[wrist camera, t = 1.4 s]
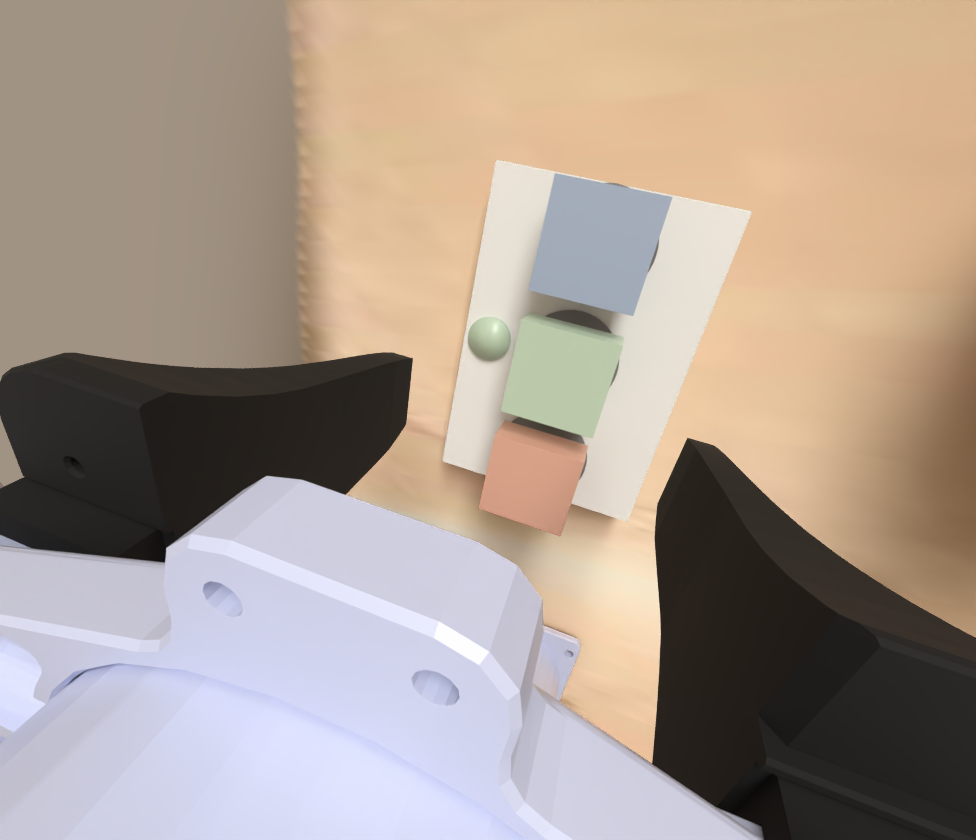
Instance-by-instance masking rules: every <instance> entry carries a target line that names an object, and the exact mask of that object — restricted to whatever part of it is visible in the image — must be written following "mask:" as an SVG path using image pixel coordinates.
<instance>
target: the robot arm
mask: <svg viewBox="0 0 976 840" xmlns="http://www.w3.org/2000/svg"><path fill="white" fill-rule="evenodd" d="M412 361H413V358H409V357H406V356H402V355H399V354H395V353H374V354H367V355H361V356H354V357H348V358H342V359H336V360H330V361H323V362H316V363H308V364H301V365H293V366H283V367H270V368H249V369H248V368H247V369H246V368H245V369H235V368H194V367H180V366H167V365H157V364H147V363H139V362H131V361H124V360H118V359H111V358H105V357H97V356H91V355H85V354H79V353H63V354H59V355H55V356H52V357H48V358H45V359H42V360H38V361H35V362H31V363H27V364H24V365H20V366H17V367H14V368H11V369H10V370H9V371H7V372H6V373H5V374H4V375H3V376H2V379H1V381H0V416H1V420H2V423H3V425H4V428H5V430H6V433H7V436H8V438H9V441H10V443H11V446H12V448H13V451H14V454H15V456H16V458H17V461H18V464H19V466H20V469H21V472H22V474H23V476H25V477H24V478H22V479H19V480H17V481H15V482H13V483H11V484H9V485H7V486H4V487H3V485H2V484H1V483H0V840H976V638H975V637H973V636H971V635H969V634H967V633H965V632H963V631H961V630H960V629H958V628H956V627H954V626H952V625H950V624H949V623H947V622H945V621H943V620H942V619H940V618H938V617H936V616H934V615H933V614H931V613H929V612H927V611H925V610H924V609H922V608H920V607H918V606H916V605H915V604H913V603H911V602H910V601H908V600H906V599H905V598H903V597H901V596H900V595H898V594H896V593H895V592H893V591H891V590H890V589H888V588H887V587H885V586H883V585H882V584H880V583H879V582H877V581H876V580H874V579H873V578H871V577H870V576H868V575H867V574H865V573H863V572H862V571H860V570H859V569H857V568H856V567H854V566H853V565H851V564H850V563H848V562H847V561H846V560H844V559H843V558H841V557H840V556H838V555H837V554H836V553H834V552H833V551H832V550H830V549H829V548H828V547H826V546H825V545H824V544H822V543H821V542H820V541H819V540H817V539H816V538H815V537H813V536H812V535H811V534H809V533H808V532H807V531H806V530H804V529H803V528H802V527H801V526H800V525H798V524H797V523H796V522H795V521H794V520H793V519H791V518H790V517H789V516H788V515H787V514H786V513H785V512H784V511H782V510H781V509H780V508H779V507H778V506H777V505H776V504H775V503H774V502H772V501H771V500H770V499H769V498H768V497H767V496H766V495H765V494H764V493H763V492H762V491H761V490H760V489H759V488H758V487H757V486H756V485H755V484H754V483H753V482H752V481H751V480H750V479H749V478H748V477H747V476H746V475H745V474H744V473H743V472H742V471H741V470H740V469H739V468H738V467H737V466H736V465H735V464H734V463H733V462H732V461H731V460H730V459H729V458H728V457H727V456H726V455H725V454H724V453H723V452H721V451H720V450H719V449H718V448H717V447H715V446H714V445H710V444H707V443H703V442H700V441H696V440H693V439H690V438H687V440H686V442H685V445H684V447H683V449H682V451H681V453H680V456H679V458H678V460H677V462H676V464H675V467H674V469H673V471H672V473H671V476H670V478H669V480H668V482H667V484H666V487H665V489H664V491H663V493H662V495H661V498H660V500H659V502H658V505H657V515H656V526H655V550H656V565H657V577H658V590H659V603H660V617H661V645H660V668H659V685H658V700H657V715H656V727H655V739H654V750H653V761H652V764H651V763H650V762H648V761H647V760H645V759H644V758H643V757H641V756H640V755H638V754H637V753H635V752H634V751H632V750H631V749H629V748H628V747H626V746H625V745H623V744H622V743H620V742H619V741H617V740H616V739H615V738H613V737H612V736H610V735H609V734H607V733H606V732H604V731H603V730H601V729H600V728H598V727H597V726H595V725H594V724H592V723H591V722H589V721H588V720H587V719H585V718H584V717H582V716H581V715H579V714H578V713H576V712H575V711H573V710H572V709H570V708H569V707H567V706H566V705H564V704H563V703H561V702H560V698H561V696H562V693H563V691H564V689H565V686H566V684H567V681H568V679H569V676H570V674H571V671H572V669H573V666H574V664H575V662H576V659H577V657H578V654H579V652H580V646H581V643H580V641H579V640H578V639H577V638H575V637H573V636H570V635H567V634H565V633H562V632H559V631H557V630H554V629H551V628H549V627H546V626H544V625H543V603H542V599H541V597H540V596H539V594H538V593H537V592H536V590H535V589H534V587H533V586H532V585H531V583H530V582H529V581H528V579H527V578H526V576H525V575H524V574H523V572H522V571H521V569H520V568H519V567H518V565H516V564H514V563H513V562H511V561H509V560H508V559H506V558H504V557H502V556H501V555H499V554H497V553H496V552H494V551H492V550H491V549H489V548H487V547H485V546H484V545H482V544H480V543H479V542H477V541H474V540H471V539H468V538H466V537H463V536H460V535H457V534H454V533H451V532H449V531H446V530H443V529H440V528H437V527H434V526H432V525H429V524H426V523H423V522H420V521H417V520H415V519H412V518H409V517H406V516H403V515H400V514H398V513H395V512H392V511H389V510H386V509H383V508H381V507H378V506H375V505H372V504H369V503H366V502H364V501H361V500H358V499H355V498H352V497H349V496H347V495H346V494H347V493H348V492H349V491H350V489H351V488H352V487H353V486H354V485H355V484H356V483H357V482H358V481H359V480H360V479H361V478H362V477H363V476H364V475H365V474H366V473H367V472H368V471H369V470H370V469H371V468H372V467H373V466H374V465H375V464H376V463H377V462H378V461H379V459H380V458H381V457H382V456H383V455H384V454H385V453H386V452H387V451H388V450H389V448H390V447H391V446H392V444H393V443H394V442H395V440H396V439H397V437H398V436H399V434H400V433H401V431H402V430H403V428H404V427H405V425H406V420H407V410H408V400H409V390H410V381H411V371H412ZM567 650H569V651H571V652H568V651H567Z"/></svg>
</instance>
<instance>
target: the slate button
mask: <svg viewBox="0 0 976 840" xmlns="http://www.w3.org/2000/svg"><path fill="white" fill-rule="evenodd" d="M671 200H672V197H670V196H665V195H660V194H655V193H651V192H646V191H641V190H636V189H631V188H626V187H621V186H616V185H611V184H606V183H601V182H596V181H591V180H586V179H581V178H576V177H572V176H567V175H562V174H557V173H555V175H554V179H553V184H552V188H551V193H550V197H549V201H548V206H547V210H546V214H545V219H544V223H543V228H542V232H541V236H540V241H539V245H538V249H537V254H536V258H535V263H534V267H533V271H532V276H531V280H530V284H529V289H528V290H530V291H534V292H538V293H542V294H546V295H550V296H554V297H558V298H562V299H566V300H570V301H574V302H578V303H582V304H586V305H590V306H594V307H598V308H602V309H606V310H610V311H614V312H618V313H622V314H626V315H630V316H633V315H634V312H635V309H636V306H637V303H638V300H639V297H640V294H641V291H642V288H643V285H644V282H645V279H646V276H647V273H648V270H649V267H650V264H651V261H652V258H653V255H654V252H655V249H656V246H657V243H658V240H659V237H660V234H661V231H662V228H663V225H664V222H665V219H666V216H667V213H668V210H669V207H670V203H671Z"/></svg>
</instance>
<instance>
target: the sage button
mask: <svg viewBox="0 0 976 840" xmlns="http://www.w3.org/2000/svg"><path fill="white" fill-rule="evenodd" d="M623 343H624V337H623V336H619V335H615V334H611V333H608V332H604V331H600V330H596V329H592V328H588V327H584V326H580V325H577V324H573V323H569V322H565V321H561V320H557V319H553V318H550V317H546V316H542V315H538V314H534V313H529V314H528V315H526V316H525V317H524V318H523V319H521V324H520V328H519V333H518V337H517V341H516V346H515V350H514V354H513V359H512V363H511V368H510V372H509V376H508V381H507V385H506V389H505V394H504V398H503V403H502V407H501V411H502V412H505V413H508V414H512V415H515V416H518V417H522V418H525V419H528V420H532V421H535V422H538V423H542V424H545V425H548V426H552V427H555V428H558V429H562V430H565V431H568V432H572V433H575V434H578V435H582V436H585V437H588V438H592V439H593V436H594V433H595V430H596V427H597V424H598V421H599V418H600V415H601V412H602V409H603V406H604V403H605V400H606V397H607V394H608V391H609V388H610V385H611V382H612V379H613V376H614V373H615V370H616V367H617V364H618V361H619V358H620V355H621V352H622V348H623Z"/></svg>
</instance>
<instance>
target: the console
mask: <svg viewBox="0 0 976 840" xmlns="http://www.w3.org/2000/svg"><path fill="white" fill-rule="evenodd" d="M555 173H557V174H562V175H567V176H572V177H576V178H581V179H586V180H591V181H596V182H601V183H606V184H611V185H616V186H621V187H626V188H631V189H636V190H641V191H646V192H651V193H655V194H660V195H665V196H670V197H672V200H671V203H670V207H669V210H668V213H667V216H666V219H665V222H664V225H663V228H662V231H661V234H660V237H659V240H658V243H657V246H656V249H655V252H654V255H653V258H652V261H651V264H650V267H649V270H648V273H647V276H646V279H645V282H644V285H643V288H642V291H641V294H640V297H639V300H638V303H637V306H636V309H635V312H634V315H633V316H630V315H626V314H622V313H618V312H614V311H610V310H606V309H602V308H598V307H594V306H590V305H586V304H582V303H578V302H574V301H570V300H566V299H562V298H558V297H554V296H550V295H546V294H542V293H538V292H534V291H530V290H528V289H529V284H530V280H531V276H532V271H533V267H534V263H535V258H536V254H537V249H538V245H539V241H540V236H541V232H542V228H543V223H544V219H545V214H546V210H547V206H548V201H549V197H550V193H551V188H552V184H553V179H554V175H555ZM751 213H752V211H748V210H743V209H738V208H733V207H728V206H723V205H718V204H713V203H708V202H703V201H698V200H694V199H689V198H684V197H679V196H674V195H669V194H664V193H659V192H654V191H649V190H644V189H639V188H634V187H629V186H624V185H620V184H616V183H609V182H604V181H599V180H594V179H590V178H585V177H580V176H575V175H570V174H565V173H560V172H555V171H550V170H545V169H540V168H535V167H530V166H525V165H520V164H515V163H510V162H505V161H500V160H496V163H495V169H494V174H493V180H492V185H491V191H490V197H489V202H488V208H487V213H486V219H485V225H484V230H483V236H482V241H481V247H480V253H479V258H478V264H477V269H476V275H475V281H474V286H473V292H472V297H471V303H470V309H469V314H468V320H467V325H466V331H465V337H464V342H463V348H462V353H461V359H460V365H459V370H458V376H457V381H456V387H455V393H454V398H453V404H452V409H451V415H450V421H449V426H448V432H447V437H446V443H445V449H444V454H443V460H442V461H443V462H446V463H449V464H452V465H455V466H458V467H461V468H464V469H467V470H471V471H474V472H477V473H480V474H483V475H486V473H487V468H488V464H489V460H490V455H491V451H492V446H493V442H494V438H495V434H496V433H497V431H498V430H499V428H500V427H501V425H502V424H503V422H504V421H505V420H506V421H509V422H512V423H516V424H519V425H522V426H525V427H529V428H532V429H535V430H539V431H542V432H545V433H549V434H552V435H555V436H558V437H562V438H565V439H568V440H572V441H575V442H578V443H581V444H585V445H588V449H587V454H586V459H585V463H584V466H583V469H582V472H581V475H580V478H579V481H578V484H577V487H576V490H575V494H574V497H573V500H572V503H571V504H574V505H577V506H580V507H583V508H586V509H589V510H592V511H596V512H599V513H602V514H605V515H608V516H611V517H614V518H617V519H620V520H623V521H626V522H627V521H628V519H629V516H630V514H631V511H632V509H633V506H634V504H635V501H636V499H637V496H638V494H639V491H640V489H641V486H642V484H643V481H644V479H645V477H646V474H647V472H648V469H649V467H650V464H651V462H652V459H653V457H654V454H655V452H656V449H657V447H658V444H659V442H660V439H661V437H662V434H663V432H664V429H665V427H666V424H667V422H668V419H669V417H670V414H671V412H672V409H673V407H674V404H675V402H676V399H677V397H678V394H679V392H680V389H681V387H682V384H683V382H684V379H685V377H686V374H687V372H688V370H689V367H690V365H691V362H692V360H693V357H694V355H695V352H696V350H697V347H698V345H699V342H700V340H701V337H702V335H703V332H704V330H705V327H706V325H707V322H708V320H709V317H710V315H711V312H712V310H713V307H714V305H715V302H716V300H717V297H718V295H719V292H720V290H721V287H722V285H723V282H724V280H725V277H726V275H727V272H728V270H729V267H730V265H731V263H732V260H733V258H734V255H735V253H736V250H737V248H738V245H739V243H740V240H741V238H742V235H743V233H744V230H745V228H746V225H747V223H748V220H749V218H750V215H751ZM529 313H534V314H538V315H542V316H546V317H550V318H553V319H557V320H561V321H565V322H569V323H573V324H577V325H580V326H584V327H588V328H592V329H596V330H600V331H604V332H608V333H611V334H615V335H619V336H623V337H624V343H623V348H622V352H621V355H620V358H619V361H618V364H617V367H616V370H615V373H614V376H613V379H612V382H611V385H610V388H609V391H608V394H607V397H606V400H605V403H604V406H603V409H602V412H601V415H600V418H599V421H598V424H597V427H596V430H595V433H594V436H593V439H592V438H588V437H585V436H582V435H578V434H575V433H572V432H568V431H565V430H562V429H558V428H555V427H552V426H548V425H545V424H542V423H538V422H535V421H532V420H528V419H525V418H522V417H518V416H515V415H512V414H508V413H505V412H502V411H501V407H502V403H503V398H504V394H505V389H506V385H507V381H508V376H509V372H510V368H511V363H512V359H513V354H514V350H515V346H516V341H517V337H518V333H519V328H520V324H521V319H523V318H524V317H525V316H526V315H528V314H529Z"/></svg>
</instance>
